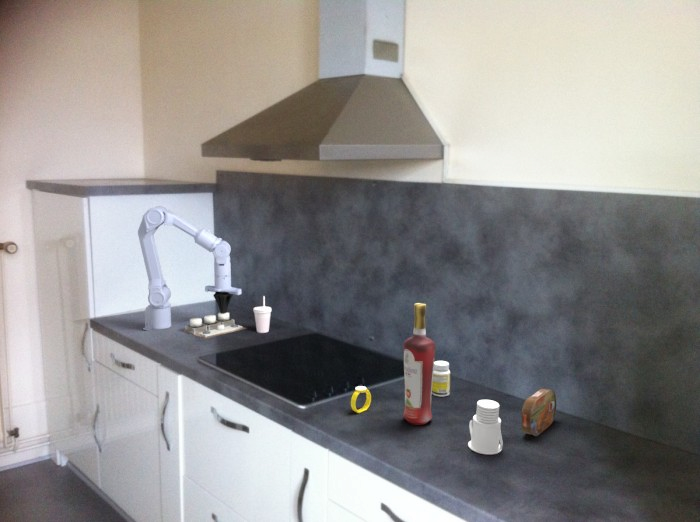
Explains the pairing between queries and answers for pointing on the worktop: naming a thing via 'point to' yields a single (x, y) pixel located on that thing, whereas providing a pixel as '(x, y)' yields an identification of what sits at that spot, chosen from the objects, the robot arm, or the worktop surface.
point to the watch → (353, 400)
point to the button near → (195, 322)
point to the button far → (223, 316)
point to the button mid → (209, 319)
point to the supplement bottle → (441, 379)
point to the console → (210, 328)
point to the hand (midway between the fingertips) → (223, 312)
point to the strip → (220, 330)
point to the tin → (538, 412)
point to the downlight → (486, 428)
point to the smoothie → (262, 317)
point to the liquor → (418, 371)
